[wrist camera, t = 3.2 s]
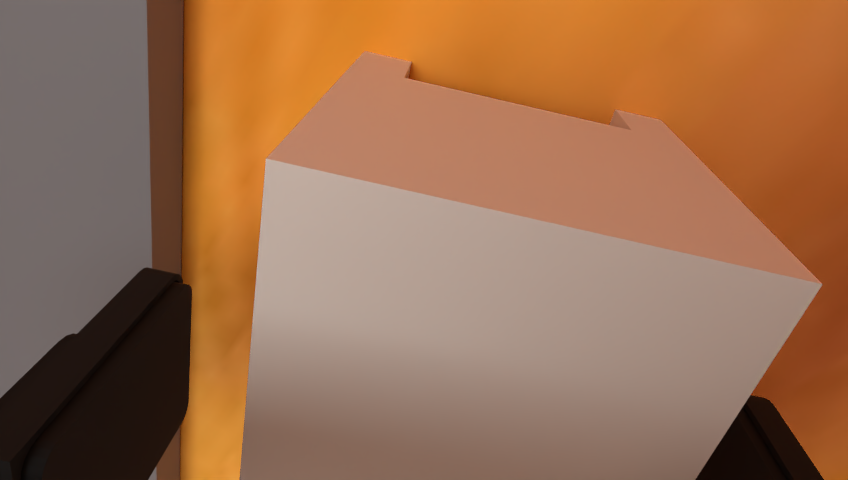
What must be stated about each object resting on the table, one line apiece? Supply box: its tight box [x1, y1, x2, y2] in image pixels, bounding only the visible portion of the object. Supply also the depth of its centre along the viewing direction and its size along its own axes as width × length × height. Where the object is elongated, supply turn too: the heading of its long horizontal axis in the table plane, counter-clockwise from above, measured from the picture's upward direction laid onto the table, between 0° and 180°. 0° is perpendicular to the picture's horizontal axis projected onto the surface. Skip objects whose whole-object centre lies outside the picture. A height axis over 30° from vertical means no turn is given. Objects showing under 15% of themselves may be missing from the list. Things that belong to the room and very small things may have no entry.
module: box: [240, 51, 823, 480], centre depth 11 cm, size 6×8×6 cm
